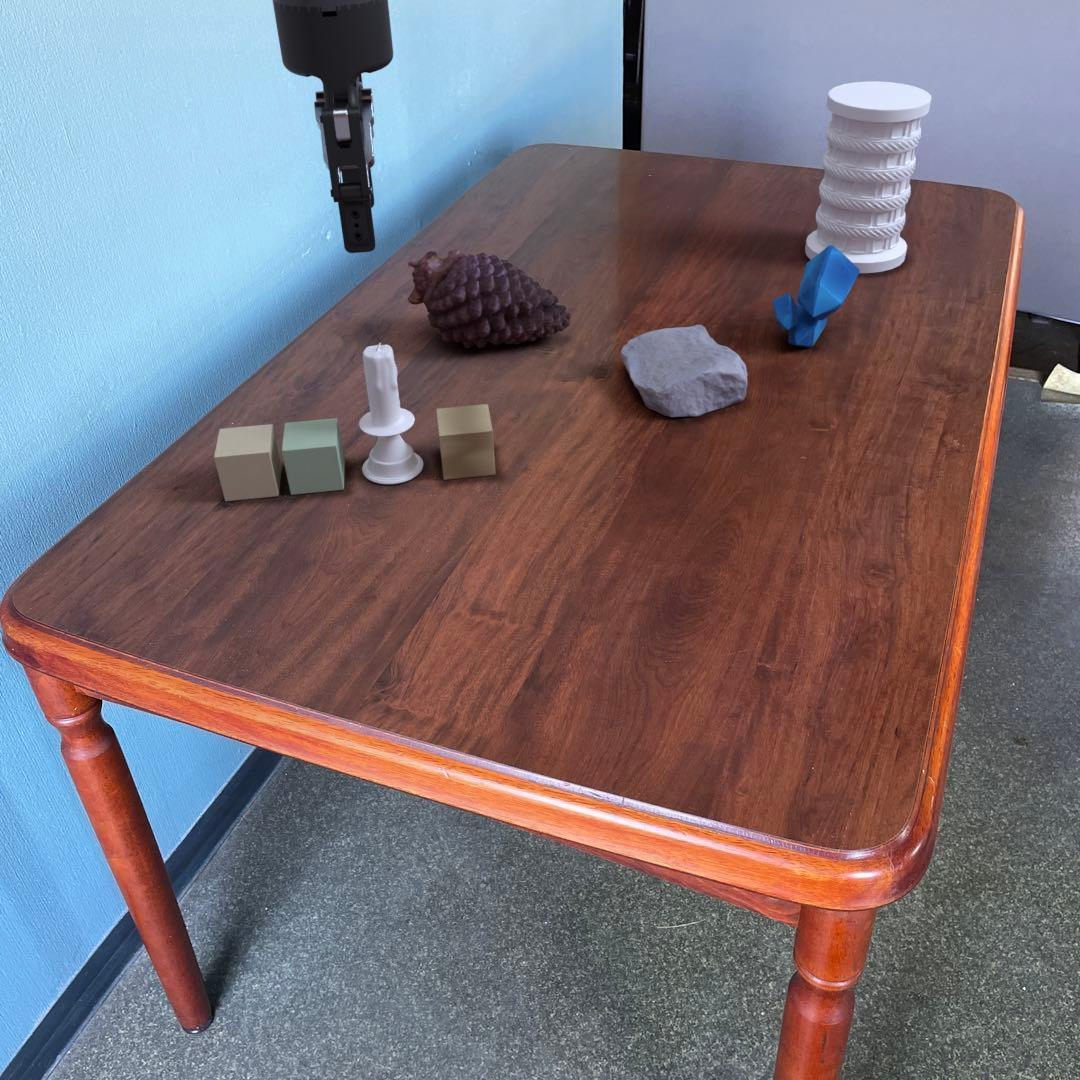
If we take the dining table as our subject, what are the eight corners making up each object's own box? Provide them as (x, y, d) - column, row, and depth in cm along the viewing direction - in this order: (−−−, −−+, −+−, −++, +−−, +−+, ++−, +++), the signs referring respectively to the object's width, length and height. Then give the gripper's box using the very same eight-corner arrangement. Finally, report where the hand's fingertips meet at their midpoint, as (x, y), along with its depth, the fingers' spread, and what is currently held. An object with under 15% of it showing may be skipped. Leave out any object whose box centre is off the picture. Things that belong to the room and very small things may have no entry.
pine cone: (573, 313, 117) (588, 260, 108) (550, 391, 113) (563, 342, 104) (416, 266, 116) (418, 209, 107) (388, 342, 113) (388, 290, 104)
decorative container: (786, 256, 127) (804, 98, 116) (836, 227, 134) (858, 74, 123) (875, 282, 121) (903, 117, 110) (923, 249, 128) (954, 91, 117)
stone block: (663, 440, 99) (758, 399, 101) (655, 397, 96) (752, 355, 98) (611, 386, 108) (698, 349, 110) (601, 345, 105) (691, 307, 107)
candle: (398, 444, 97) (382, 323, 90) (436, 467, 94) (422, 343, 87) (350, 468, 94) (329, 345, 87) (387, 493, 91) (369, 367, 84)
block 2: (290, 495, 91) (281, 450, 88) (293, 466, 95) (284, 422, 92) (344, 490, 92) (336, 445, 89) (344, 461, 95) (337, 417, 92)
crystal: (764, 293, 104) (795, 222, 111) (761, 361, 111) (790, 291, 117) (841, 304, 101) (868, 231, 108) (833, 374, 108) (860, 301, 115)
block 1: (225, 501, 91) (213, 457, 88) (230, 472, 94) (219, 428, 92) (278, 496, 91) (269, 451, 88) (282, 467, 95) (272, 423, 92)
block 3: (443, 480, 92) (438, 435, 90) (440, 452, 96) (436, 408, 93) (495, 475, 93) (492, 430, 90) (490, 447, 96) (487, 403, 94)
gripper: (278, -28, 76) (313, 199, 86) (263, 16, 65) (306, 270, 75) (384, -33, 77) (407, 192, 86) (388, 9, 65) (414, 262, 75)
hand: (360, 228), depth 80 cm, fingers open, 8 cm apart
